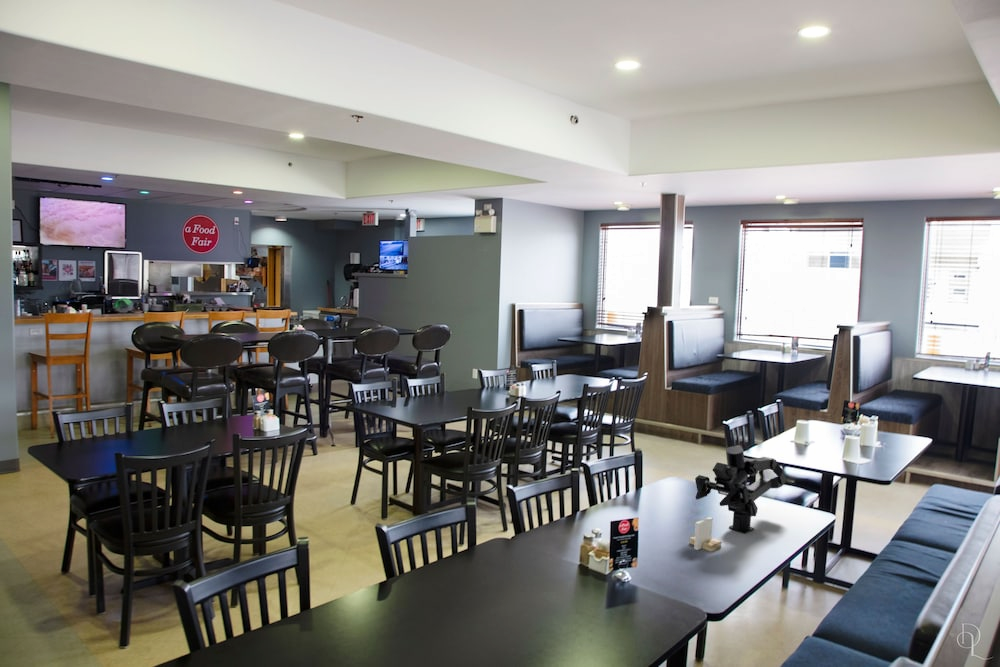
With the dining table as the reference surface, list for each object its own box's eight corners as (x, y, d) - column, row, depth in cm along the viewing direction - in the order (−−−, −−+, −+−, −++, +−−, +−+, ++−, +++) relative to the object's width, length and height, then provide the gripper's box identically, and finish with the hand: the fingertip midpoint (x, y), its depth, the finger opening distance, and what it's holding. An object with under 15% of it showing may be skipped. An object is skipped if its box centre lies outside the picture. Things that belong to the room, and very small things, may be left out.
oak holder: (699, 539, 235) (700, 533, 234) (721, 547, 228) (721, 541, 228) (689, 543, 231) (689, 537, 231) (710, 551, 225) (711, 545, 224)
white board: (707, 543, 232) (709, 517, 231) (711, 544, 231) (712, 518, 230) (694, 548, 227) (695, 522, 226) (697, 550, 226) (698, 523, 225)
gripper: (705, 453, 243) (680, 474, 234) (754, 463, 229) (729, 486, 219) (710, 481, 246) (685, 502, 237) (759, 493, 232) (734, 516, 222)
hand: (707, 501), depth 229 cm, fingers open, 9 cm apart
